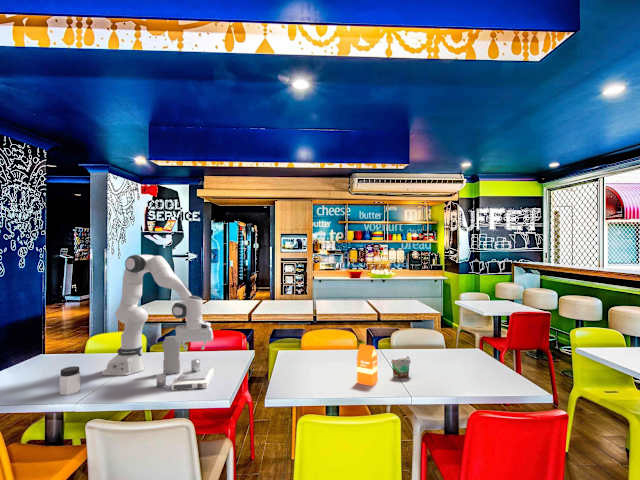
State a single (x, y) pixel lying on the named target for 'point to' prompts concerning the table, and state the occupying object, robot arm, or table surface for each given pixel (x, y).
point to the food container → (401, 367)
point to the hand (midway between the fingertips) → (194, 349)
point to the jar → (69, 380)
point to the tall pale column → (171, 355)
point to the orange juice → (366, 365)
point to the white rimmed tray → (193, 379)
